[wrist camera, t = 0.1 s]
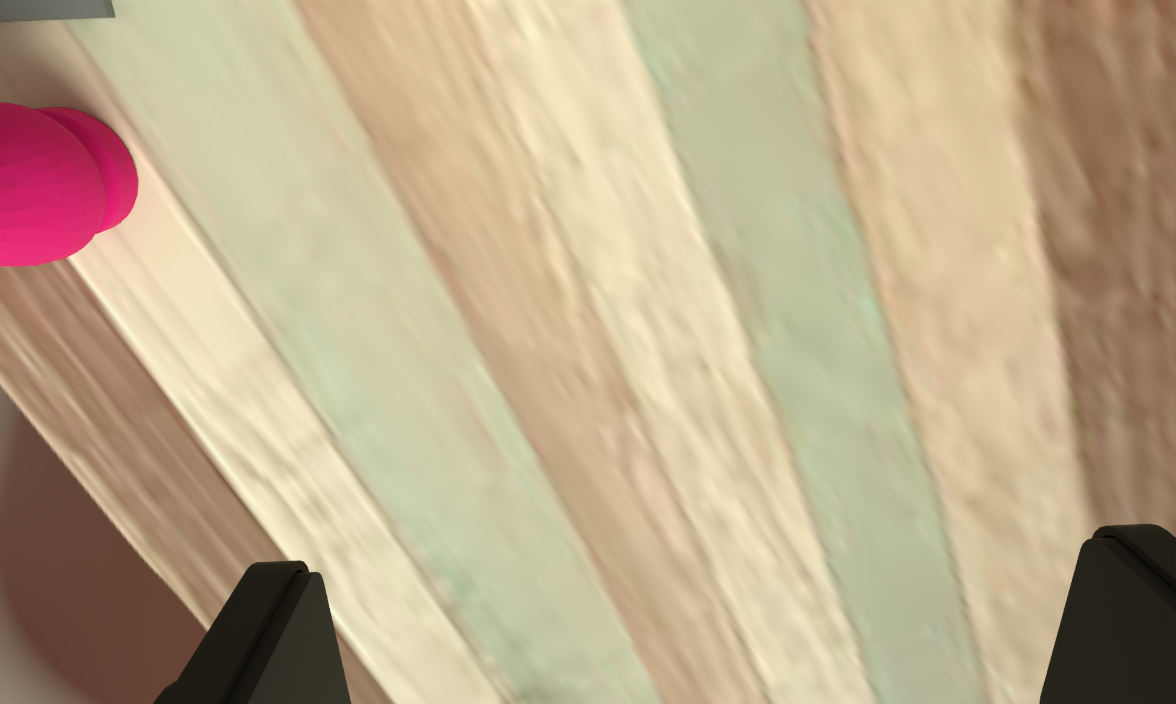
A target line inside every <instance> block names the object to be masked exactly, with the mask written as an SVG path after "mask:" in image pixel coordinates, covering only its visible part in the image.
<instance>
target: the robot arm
mask: <svg viewBox="0 0 1176 704" xmlns="http://www.w3.org/2000/svg"><path fill="white" fill-rule="evenodd" d="M153 704H351V701H350V696H349V692H348V687H347V683H346V679H345V674H344V670H343V665H342V661H341V656H340V652H339V647H338V643H337V639H336V634H335V630H334V625H333V621H332V616H331V612H330V608H329V603H328V599H327V594H326V590H325V585H324V581H323V578H322V576H321V574H320V573H318V572H309V570H308V567H307V565H306V564H305V563H304V562H303V561H278V562H256V563H254V564H252V565H251V566H250V567H249V568H248V569H247V570H246V572H245V573H244V575H243V577H242V578H241V580H240V581H239V583H238V585H237V586H236V588H235V589H234V591H233V592H232V594H231V596H230V597H229V599H228V600H227V602H226V604H225V605H224V607H223V608H222V610H221V612H220V613H219V615H218V616H217V618H216V619H215V621H214V623H213V624H212V626H211V627H210V629H209V631H208V632H207V634H206V635H205V637H204V639H203V640H202V642H201V643H200V645H199V646H198V648H197V650H196V651H195V653H194V654H193V656H192V658H191V659H190V661H189V662H188V664H187V665H186V667H185V669H184V670H183V672H182V673H181V675H180V677H179V678H178V680H177V681H175V682H173V683H172V684H170V685H169V686H167V687H166V688H165V689H164V690H163V691H162V693H161V694H160V695H159V696H158V698H157V699H156V700H155V702H154V703H153ZM1040 704H1176V537H1174V536H1173V535H1172V534H1171V533H1169V532H1168V531H1167V530H1165V529H1163V528H1162V527H1160V526H1158V525H1153V524H1135V525H1112V526H1104V527H1100V528H1099V529H1098V530H1097V531H1095V532H1094V534H1093V537H1092V539H1088V540H1086V541H1085V542H1084V543H1083V545H1082V547H1081V549H1080V553H1079V556H1078V560H1077V564H1076V567H1075V571H1074V575H1073V578H1072V582H1071V586H1070V590H1069V593H1068V597H1067V601H1066V604H1065V608H1064V612H1063V615H1062V619H1061V623H1060V626H1059V630H1058V634H1057V637H1056V641H1055V645H1054V648H1053V652H1052V656H1051V659H1050V663H1049V667H1048V670H1047V674H1046V678H1045V682H1044V685H1043V689H1042V693H1041V696H1040Z"/></svg>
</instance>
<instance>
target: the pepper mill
mask: <svg viewBox="0 0 1176 704" xmlns="http://www.w3.org/2000/svg"><path fill="white" fill-rule="evenodd" d="M137 187H138V179H137V174H136V170H135V166H134V163H133V161H132V159H131V157H130V155H129V153H128V151H127V149H126V147H125V145H124V144H123V143H122V142H121V140H120V139H119V138H118V137H117V136H116V135H115V134H114V133H113V132H112V131H111V130H110V129H109V128H108V127H107V126H105V125H104V124H103V123H101V122H100V121H98V120H97V119H95V118H93V117H91V116H89V115H87V114H86V113H83V112H80V111H77V110H74V109H70V108H62V107H50V108H41V109H30V108H28V107H25V106H21V105H16V104H11V103H1V102H0V266H36V265H40V264H44V263H48V262H52V261H56V260H60V259H64V258H66V257H68V256H70V255H72V254H74V253H76V252H78V251H79V250H81V249H82V248H83V247H85V246H86V245H87V244H88V243H89V242H90V241H91V240H92V238H93V237H94V235H95V234H97V233H100V232H103V231H105V230H108V229H110V228H112V227H115V226H116V225H118V224H119V223H121V222H122V221H123V220H124V219H125V218H126V217H127V216H128V215H129V213H130V212H131V210H132V208H133V206H134V203H135V200H136V197H137Z"/></svg>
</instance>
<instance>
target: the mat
mask: <svg viewBox="0 0 1176 704" xmlns="http://www.w3.org/2000/svg"><path fill="white" fill-rule="evenodd" d="M89 18H115V15H114V11H113V7H112V3H111V0H0V22H11V21H37V20H63V19H89Z"/></svg>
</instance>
